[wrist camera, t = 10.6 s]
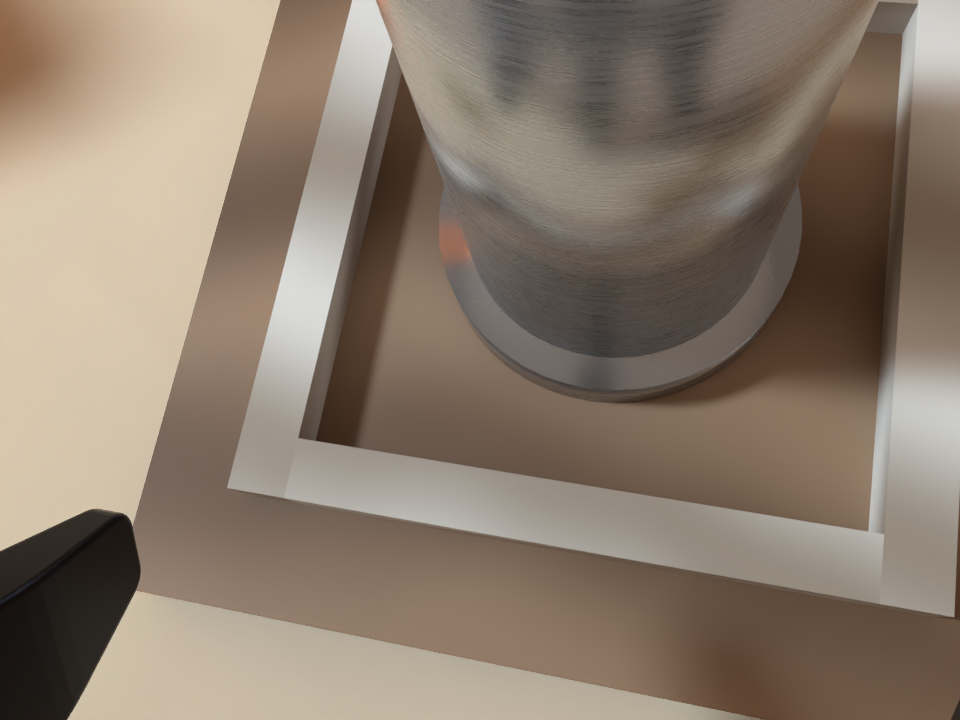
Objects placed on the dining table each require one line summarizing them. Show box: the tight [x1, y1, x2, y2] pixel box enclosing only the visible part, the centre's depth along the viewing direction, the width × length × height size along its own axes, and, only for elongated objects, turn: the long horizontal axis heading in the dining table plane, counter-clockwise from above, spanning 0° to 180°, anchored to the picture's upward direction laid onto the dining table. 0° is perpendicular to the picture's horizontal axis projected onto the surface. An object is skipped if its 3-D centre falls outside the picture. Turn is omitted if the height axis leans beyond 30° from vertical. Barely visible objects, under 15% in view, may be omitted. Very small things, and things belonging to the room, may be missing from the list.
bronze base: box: [133, 0, 960, 720], centre depth 19 cm, size 18×18×2 cm
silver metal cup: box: [376, 0, 879, 403], centre depth 12 cm, size 7×7×13 cm
